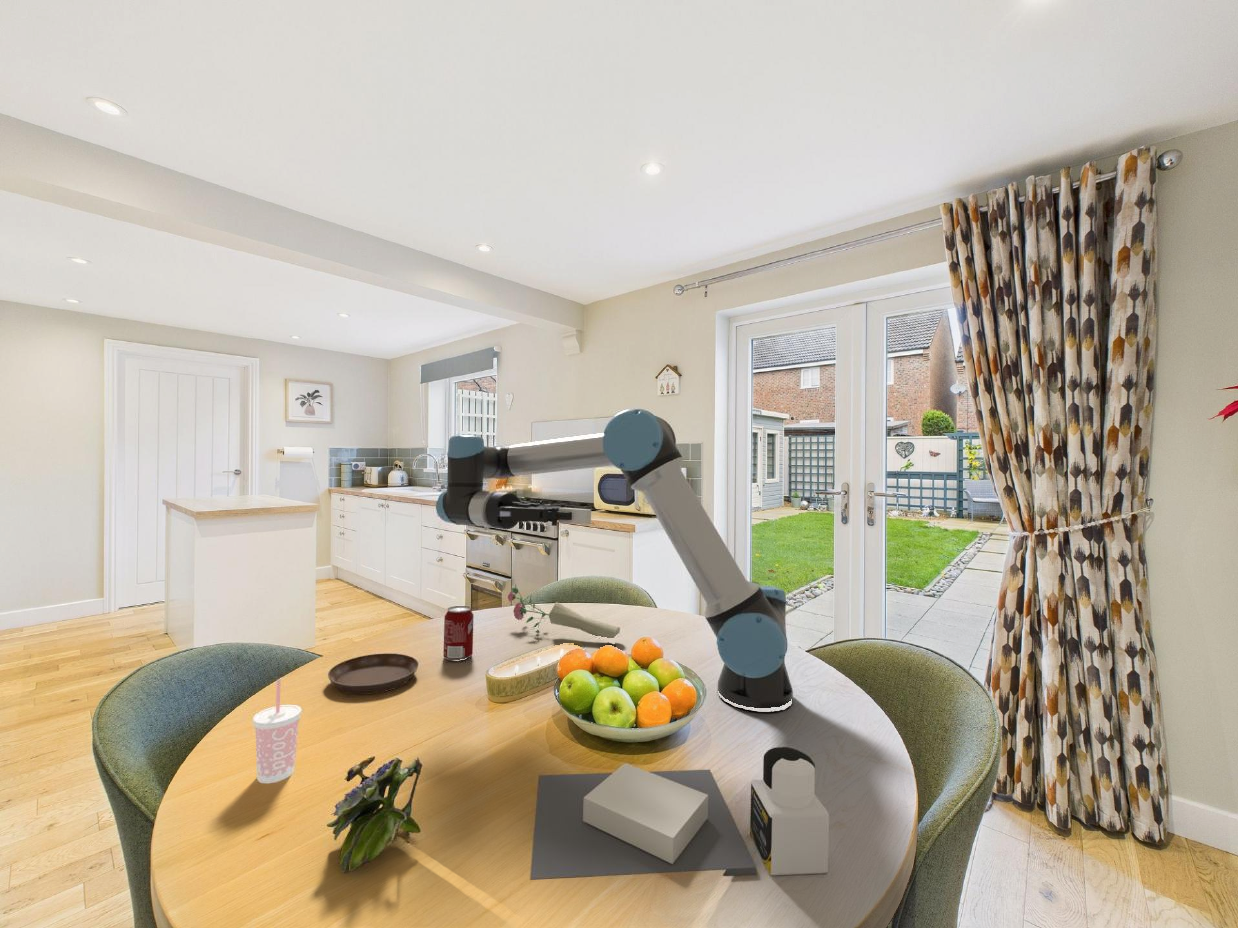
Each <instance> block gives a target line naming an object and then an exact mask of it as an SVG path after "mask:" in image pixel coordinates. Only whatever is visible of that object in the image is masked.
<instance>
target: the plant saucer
mask: <svg viewBox="0 0 1238 928" xmlns="http://www.w3.org/2000/svg"><path fill="white" fill-rule="evenodd" d="M419 665H420V664H419V660H417V659H416V658H415V657H412V656H410V655H406V654H401V653H393V652H391V653H386V652H385V653H372V654H366V655H361V656H360V655H359V656H357V657H353V658H349V659H347V660H344V661H341V662H339V663H338V664H337V663H336V665H334V666H333V667H332V668H330V669H329V671H328V673H327V679H329V681H330V682H331V684H333V685H334V687H336V688H337V690H339V691H341V692H344V693H345V692H346V694H351V695H370V694H371V695H372V693H373V694H378V693H377V692H379V693H383V691H384V692H387V691H386V690H388V691H390V689H391V690H394V689H397V688H399V687H400V685H401V686H403V685H404V684H405V682H406V683H407V682H408V681H409V680H410V679H411V678H412V677H413V676H414V674H415V673H416V672H417V670H418V668H419ZM402 684H403V685H402ZM396 687H397V688H396ZM393 688H394V689H393Z"/></svg>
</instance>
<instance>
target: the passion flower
mask: <svg viewBox="0 0 1238 928" xmlns="http://www.w3.org/2000/svg"><path fill="white" fill-rule="evenodd" d="M375 759H376V756H374V755H373V756H370V757H368V758H366V759H363V760H362V761H360V763H359V764H355V765H354V766H352V767H351V768H349V769H348V770H347V772H346V773H347V774H346V776H345V777H344V780H346V782H350V781H352V780H353V779H354V778H356V777H357V776H359V777H360V779H361V780H360V783H359V785H358V786H356V785H355V786H354V787H353V788H352V789H351V790H350V791H349V792H347V793H346V794H344V798H343V799H341V800H339V801H338V803H336V804H335V805H334V808H335V811H334V812H333V813H332V814H330V816H332V815H333V817H335V816H337V817H336V818H335V819H334V820H333V821H330V822H328V823H327V824H326V827H327V828H333V831H332V834H333V835H334V836H333V839H334V840H333V841H337V839H338V837H339V836H340V835H341V833H342V831H344V830H346V828H348V827H349V825H350V828H349V830H348V832H347V834H346V836H345V838H344V840H343V844H342V847H341V851H340V854H339V855H340V856H339V865H340V868H341V869H340V870H341V871H342V872H343V873H346V870H347V865H348V871H350V872H351V871H354V870H355V869H357V868H358V867H360V866H361V865H363V863H364V862H371V861H373V860H374V859H375V858H377V857H378V856H379V855H380V854H381V852H383V850H384V849H386V847H387V846H388V843H390V842H391V843H395V841H396V839H397V834H398V832H399V829H402V830H403V831H404V832H406V835H408V836H409V835H410V834H411V833H412V834H418V833H421V827H420V826H419V824H418V822H416V821H415V819H414V818H412V816H411V815H412V808H413V806H412V805H413V804H412V803H413V798H414V794H415V792H416V787H417V784H418V781H419V777H420V775H421V772H422V771H421V770H422V767H423V764H422V762H421V761H420V760H421V759H420V758H419V757H417V758H416V759H414V760H413V761H412V762H411V764H410V765H408V766H406V767H403V768H401V766H402V764H403V760H402V759H400V758H398V757H395V758H393V759H391V760H389V761H388V763H387V762H386V763H383V765H382V766H379V767H378V769H377V770H376V771H375V772H374V773H372V774H371V775H370V776H366V775H365V774H364V772H363V771H364V770H365V769H366V768H367V767H368V766H369V765H370V764H372V763H373V762H374V761H375ZM414 774H416V776H415V779H414V781H413V782H414V783H413V786H412V789H411V793H410V796H409V798H408V801H407V803H406V805H405V806H404V807H403V808H401V809H400V808H399V807H398V808H396V807H395V799H396V797H397V795H398V793H399V790H400V788H401V786H402V784H403V783H404V782H405V781H406V780H407V779H408V778H409V777H410V778H412V777H413V776H414ZM387 787H388V790H387ZM386 790H387V796H385V794H386ZM389 841H390V842H389ZM406 842H407V844H409V843H410V841H406Z"/></svg>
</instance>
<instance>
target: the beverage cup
mask: <svg viewBox="0 0 1238 928" xmlns="http://www.w3.org/2000/svg"><path fill="white" fill-rule="evenodd" d="M281 683H282V682H281V679H280V678H278V679H277V680H276V692H275V693H276V695H275V696H276V697H275V698H276V700H275V706H273V707H272V706H271V707H268V708H266V709H263V710H261V711H259V712H257V713H256V714H255V715H254V716H253V717H252V725H253V727H254V729H255V730H254V731H255V732H254V733H255V753H256V755H255V757H256V778H257V782H259V783H260V784H271V783H272V784H273V783H278V782H281V781H283V780H285V779H287V778H289V777H290V776H292V775H293V773H294V771H295V763H296V755H297V744H298V742H297V741H298V733H299V722H300V718H301V716H302V712H303V710H302V707H301V706H299V705H296V704H282V705H281Z"/></svg>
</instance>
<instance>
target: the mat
mask: <svg viewBox="0 0 1238 928" xmlns="http://www.w3.org/2000/svg"><path fill="white" fill-rule="evenodd" d="M649 772H650V773H653V774H655V775H658V776H661V777H663V778H666V779H668V780H671V781H673V782H676V783H679V784H681V785H684V786H686V787H689V788H692V789H694V790H697V791H699V792H702V793H705V794H707V795H708V818H707V819H706V821H705V822H704V823H703V825H702V826H701V827H700V829H699V830H698V831H697V833H696V834H695V835H694V837H693V838H692V839H691V841H690V842H689V843H688V844H687V846H686V847H685V848H684V850H683V851H682V852H681V854H680V855H679V856H678V858H677V859H676V860H675V862H674V863H673V864H671V863H669V862H667V861H665V860H663V859H661V858H659V857H657V856H655V855H653V854H650V853H648V852H646V851H644V850H642V849H640V848H638V847H636V846H634V845H632V844H630V843H628V842H626V841H623V840H621V839H619V838H617V837H615V836H613V835H611V834H609V833H607V832H605V831H603V830H601V829H599V828H596V827H594V826H592V825H590V824H588V823H586V822H584V821H583V801H584V797H585V796H586V795H587V794H589V793H590V792H591V791H592V790H593V789H595V788H596V787H597V786H598V785H599V784H601V783H602V782H603V781H604V780H605V779H607V778H608V777H609V776H610V775H611V774H612V773H613V772H604V773H603V772H600V773H599V772H597V773H596V772H595V773H571V774H569V773H567V774H566V773H565V774H543V775H542V774H540V775H538V783H537V795H536V796H537V797H536V805H535V806H536V807H535V819H534V830H533V831H534V832H533V842H532V852H531V853H532V855H531V863H530V864H531V865H530V866H531V867H530V874H529V875H530V876H529V880H530V881H531V880H549V879H566V878H568V879H570V878H586V877H590V878H591V877H605V876H606V877H607V876H624V875H627V876H628V875H641V874H642V875H644V874H645V875H647V874H660V873H662V874H663V873H665V874H666V873H681V872H698V871H699V872H700V871H703V872H704V871H716V870H717V871H718V870H725V871H724V872H723V874H722V877H726V876H727V877H728V876H729V877H730V876H746V875H749V876H750V875H757V870H758V869H757V866H756V863H755V861H754V859H753V857H752V855H751V853H750V850H749V848H748V846H747V845H746V842H745V840H744V838H743V837H742V836H743V835H742V834H741V832H740V830H739V828H738V825H737V823H736V821H735V819H734V817H733V815H732V812H731V811H730V808H729V806H728V805H727V802H726V800H725V798H724V796H723V794H722V792H721V790H720V788H719V786H718V783H717V782H716V779H715V777H714V776H713V773H712V771H711V769H689V770H688V769H687V770H684V769H683V770H682V769H681V770H661V771H659V770H658V771H655V770H654V771H649Z"/></svg>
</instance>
